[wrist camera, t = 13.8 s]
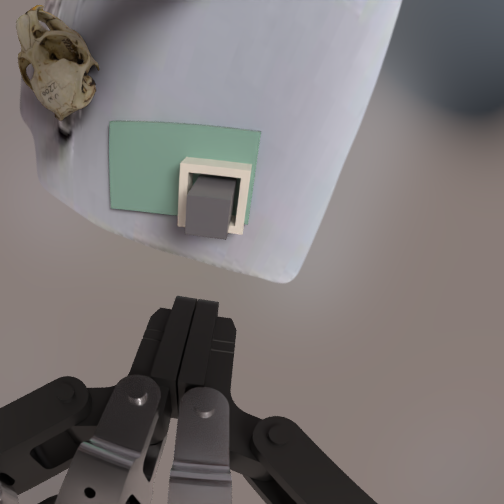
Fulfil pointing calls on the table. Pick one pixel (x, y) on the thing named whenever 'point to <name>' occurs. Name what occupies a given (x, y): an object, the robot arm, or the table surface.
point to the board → (170, 161)
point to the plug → (210, 206)
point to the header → (220, 169)
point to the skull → (55, 62)
